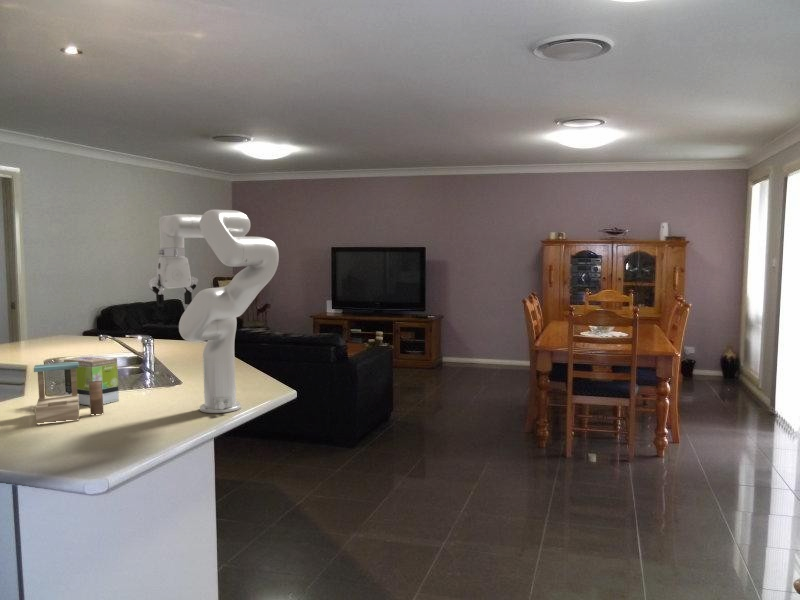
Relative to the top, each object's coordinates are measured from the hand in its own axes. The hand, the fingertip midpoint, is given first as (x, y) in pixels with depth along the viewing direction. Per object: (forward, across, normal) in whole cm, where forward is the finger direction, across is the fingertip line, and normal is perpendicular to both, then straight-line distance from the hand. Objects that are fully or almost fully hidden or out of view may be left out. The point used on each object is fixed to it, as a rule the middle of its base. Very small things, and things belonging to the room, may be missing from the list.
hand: (174, 305), depth 219 cm
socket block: (+32, -36, +6) cm, 48 cm away
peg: (+32, -27, 0) cm, 41 cm away
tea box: (+32, -20, +19) cm, 43 cm away
